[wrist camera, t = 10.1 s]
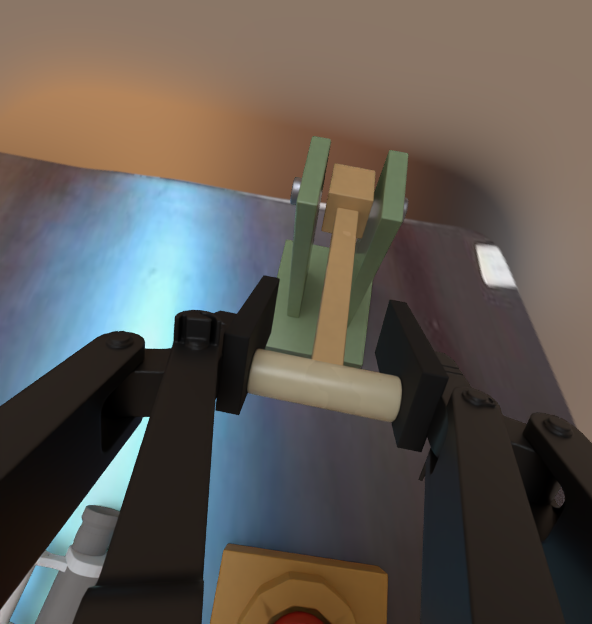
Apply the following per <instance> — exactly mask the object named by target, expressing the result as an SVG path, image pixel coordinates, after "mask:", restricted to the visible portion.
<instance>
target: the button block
mask: <svg viewBox="0 0 592 624" xmlns="http://www.w3.org/2000/svg"><path fill="white" fill-rule="evenodd" d="M387 593H388V574H387V573H385V572H384V571H383V570H382V569H381V568H380V567H379V566H375V565H368V564H361V563H355V562H348V561H342V560H335V559H328V558H322V557H315V556H309V555H302V554H295V553H289V552H282V551H276V550H269V549H262V548H256V547H249V546H242V545H236V544H227V546H226V547H225V549H224V551H223V555H222V561H221V566H220V572H219V577H218V582H217V588H216V593H215V599H214V604H213V609H212V615H211V620H210V624H274V623H275V622H276V621H277V620H278V619H279V618H281V617H282V616H284V615H286V614H288V613H291V612H297V611H300V612H307V613H310V614H312V615H314V616H316V617H317V618H319V619H320V620H321V621H322V622H323V623H324V624H387Z"/></svg>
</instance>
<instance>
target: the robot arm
mask: <svg viewBox="0 0 592 624" xmlns="http://www.w3.org/2000/svg"><path fill="white" fill-rule="evenodd" d="M279 282H280V278H275V277H270V276H263V277H262V279H261V280H260V281H259V283H258V284H257V286H256V287H255V289H254V290H253V292H252V293H251V294H250V296H249V297H248V299H247V300H246V302H245V303H244V305H243V306H242V308H241V309H240V310H239V312H238V313H237V314H235V313H230V312H225V311H218V312H215V313H211V312H208V311H202V310H188V311H183V312H180V313H178V314H177V315H176V316H175V324H174V342H173V345H172V348H169V349H145V341H144V338H143V337H141V336H140V335H138V334H135V333H131V332H125V331H119V332H118V331H114V332H111V333H107V334H103V335H101V336H99V337H97V338H96V339H94V340H93V341H91V342H90V343H88V344H87V345H86V346H84V347H83V348H81V349H80V350H79V351H77V352H76V353H74V354H73V355H72V356H70V357H69V358H67V359H66V360H65V361H63V362H62V363H60V364H59V365H58V366H56V367H55V368H53V369H52V370H51V371H49V372H48V373H46V374H45V375H43V376H42V377H41V378H39V379H38V380H36V381H35V382H34V383H32V384H31V385H29V386H28V387H27V388H25V389H24V390H22V391H21V392H20V393H18V394H17V395H15V396H14V397H13V398H11V399H10V400H8V401H7V402H5V403H4V404H3V405H1V406H0V610H1V609H2V607H3V606H4V605H5V603H6V602H7V601H8V599H9V598H10V597H11V595H12V594H13V593H14V591H15V590H16V589H17V587H18V586H19V585H20V583H21V582H22V581H23V579H24V578H25V577H26V575H27V574H28V572H29V571H30V570H31V568H32V567H33V566H34V564H35V563H36V562H37V560H38V559H39V558H40V556H41V555H42V554H43V552H44V551H45V550H46V548H47V547H48V546H49V544H50V543H51V542H52V540H53V539H54V538H55V536H56V535H57V534H58V532H59V531H60V530H61V528H62V527H63V526H64V524H65V523H66V522H67V520H68V519H69V518H70V516H71V515H72V514H73V512H74V511H75V510H76V508H77V507H78V506H79V504H80V503H81V502H82V500H83V499H84V498H85V496H86V495H87V494H88V492H89V491H90V490H91V488H92V487H93V486H94V484H95V483H96V482H97V480H98V479H99V478H100V476H101V475H102V474H103V472H104V471H105V470H106V468H107V467H108V466H109V464H110V463H111V462H112V460H113V459H114V458H115V456H116V455H117V454H118V452H119V451H120V450H121V448H122V447H123V446H124V444H125V443H126V442H127V440H128V439H129V438H130V436H131V435H132V433H133V432H134V431H135V429H136V428H137V427H138V425H139V424H140V423H141V421H142V418H143V417H150V418H149V421H148V424H147V428H146V431H145V434H144V437H143V440H142V443H141V447H140V450H139V453H138V456H137V459H136V462H135V466H134V469H133V472H132V475H131V478H130V481H129V485H128V488H127V491H126V494H125V497H124V500H123V504H122V507H121V510H120V513H119V516H118V519H117V523H116V526H115V529H114V532H113V535H112V538H111V542H110V545H109V548H108V551H107V554H106V557H105V561H104V564H103V567H102V570H101V573H100V576H99V578H98V581H97V583H96V584H95V586H92V587H88V589H87V591H86V592H85V594H84V596H83V597H82V600H81V602H80V605H79V607H78V610H77V612H76V615H75V617H74V620H73V623H72V624H202V608H203V591H204V581H203V571H204V556H205V542H206V527H207V513H208V498H209V484H210V469H211V455H212V440H213V426H214V411H215V400H216V398H217V401H216V411H221V412H226V413H231V414H236V415H239V414H240V411H241V408H242V406H243V403H244V401H245V398H246V396H247V393H248V391H247V383H248V376H249V371H250V367H251V363H252V359H253V356H254V353H255V351H256V350H257V349H264V350H265V347H266V345H267V342H268V339H269V337H270V334H271V331H272V325H273V319H274V313H275V306H276V300H277V294H278V288H279ZM375 355H376V359H377V364H378V368H379V372H380V373H383V374H388V375H393V376H397V377H399V378H400V380H401V384H402V399H401V405H400V409H399V412H398V415H397V417H396V419H395V420H394V421H393V422H391V423H392V427H393V431H394V436H395V440H396V444H397V447H398V448H403V449H408V450H413V451H418V452H422V449H423V446H424V444H425V441H426V438H428V440H429V443H430V446H431V448H430V451H429V454H428V456H427V459H426V462H425V464H424V467H423V469H422V472H421V475H420V477H419V480H421V481H423V478H424V477H425V501H424V530H423V559H422V587H421V616H420V624H592V443H591V442H590V441H589V440H588V439H587V438H586V437H585V436H584V435H583V433H581V432H580V431H579V430H578V429H577V428H576V427H574V426H573V425H571V424H569V423H568V422H567V421H566V420H564V419H562V418H559V417H557V416H555V415H549V414H546V413H533V414H532V415H531V417H530V419H529V421H528V423H527V424H525V423H522V422H519V421H517V420H514V419H511V418H508V417H506V416H503V415H502V412H501V409H500V406H499V405H498V403H497V402H496V401H495V400H494V399H493V398H492V397H490V396H489V395H487V394H485V393H483V392H481V391H479V390H476V389H474V388H472V387H471V386H470V384H469V383H468V381H467V380H466V378H465V377H464V376H463V374H462V372H461V371H460V370H459V368H458V366H457V365H456V363H455V361H454V360H452V359H451V358H450V357H448V356H447V355H446V354H445V353H440V352H435V351H434V350H433V348H432V347H431V345H430V343H429V341H428V340H427V338H426V336H425V334H424V333H423V331H422V329H421V327H420V326H419V324H418V322H417V320H416V319H415V317H414V315H413V314H412V312H411V310H410V308H409V307H408V305H407V303H405V302H400V301H394V300H389V304H388V308H387V311H386V315H385V318H384V322H383V325H382V329H381V333H380V336H379V340H378V343H377V347H376V351H375ZM560 487H562V489H563V491H564V494H565V502H564V503H563V505H562V506H561V507H559V505H558V504H557V503H556V501H555V500H554V498H555V496H556V494H557V492H558V491H559V489H560Z"/></svg>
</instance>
